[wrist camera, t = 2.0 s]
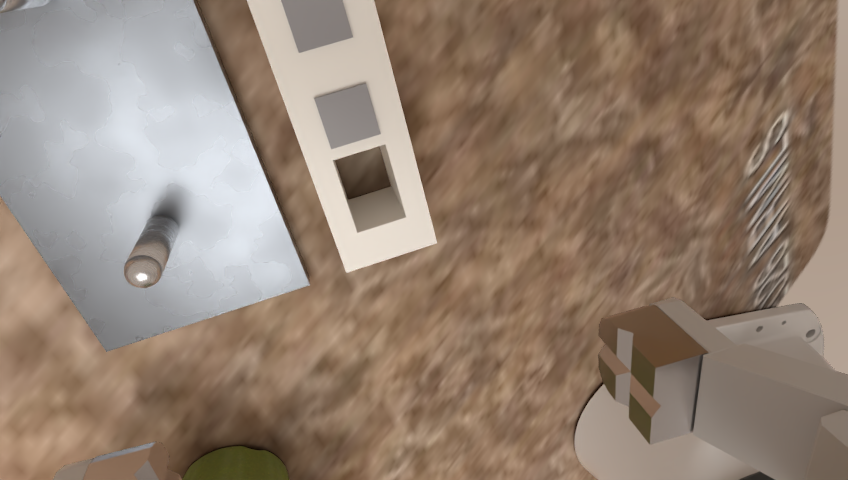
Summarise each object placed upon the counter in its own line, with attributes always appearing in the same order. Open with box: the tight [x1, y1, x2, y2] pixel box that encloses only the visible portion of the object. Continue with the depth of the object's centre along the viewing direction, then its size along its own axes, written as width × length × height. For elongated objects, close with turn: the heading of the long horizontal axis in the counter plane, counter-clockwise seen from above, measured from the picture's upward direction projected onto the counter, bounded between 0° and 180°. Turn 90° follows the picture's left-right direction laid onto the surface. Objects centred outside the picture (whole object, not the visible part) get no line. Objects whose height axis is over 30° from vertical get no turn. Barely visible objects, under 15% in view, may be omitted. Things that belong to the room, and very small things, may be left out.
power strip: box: [247, 0, 437, 273], centre depth 26 cm, size 5×20×5 cm, turn 14°
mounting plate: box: [0, 0, 310, 352], centre depth 24 cm, size 12×24×6 cm, turn 14°
